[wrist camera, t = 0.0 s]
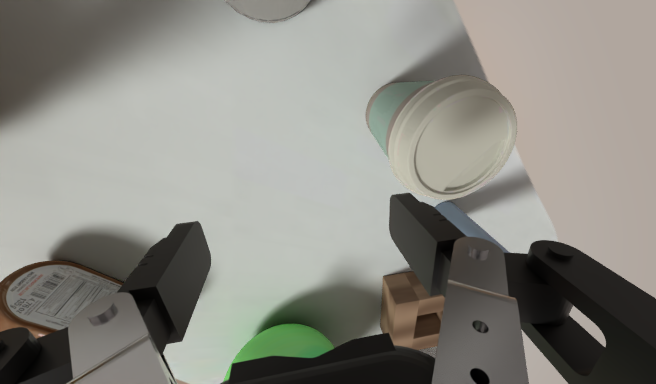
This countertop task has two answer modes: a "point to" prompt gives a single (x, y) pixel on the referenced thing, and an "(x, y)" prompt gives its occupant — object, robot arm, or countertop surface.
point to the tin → (50, 295)
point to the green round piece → (284, 344)
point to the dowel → (465, 222)
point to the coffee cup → (443, 133)
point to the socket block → (410, 312)
